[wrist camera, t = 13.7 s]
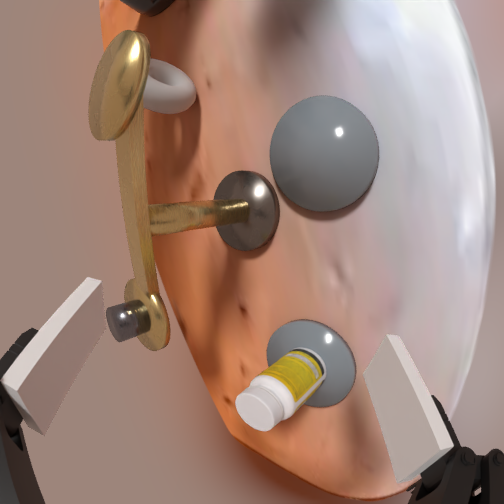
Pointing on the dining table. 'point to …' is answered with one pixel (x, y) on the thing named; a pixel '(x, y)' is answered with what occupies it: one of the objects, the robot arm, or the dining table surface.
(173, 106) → the donut
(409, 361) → the robot arm
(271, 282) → the dining table surface
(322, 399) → the dish low
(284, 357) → the supplement bottle
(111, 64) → the balance
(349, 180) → the glossy grey puck
